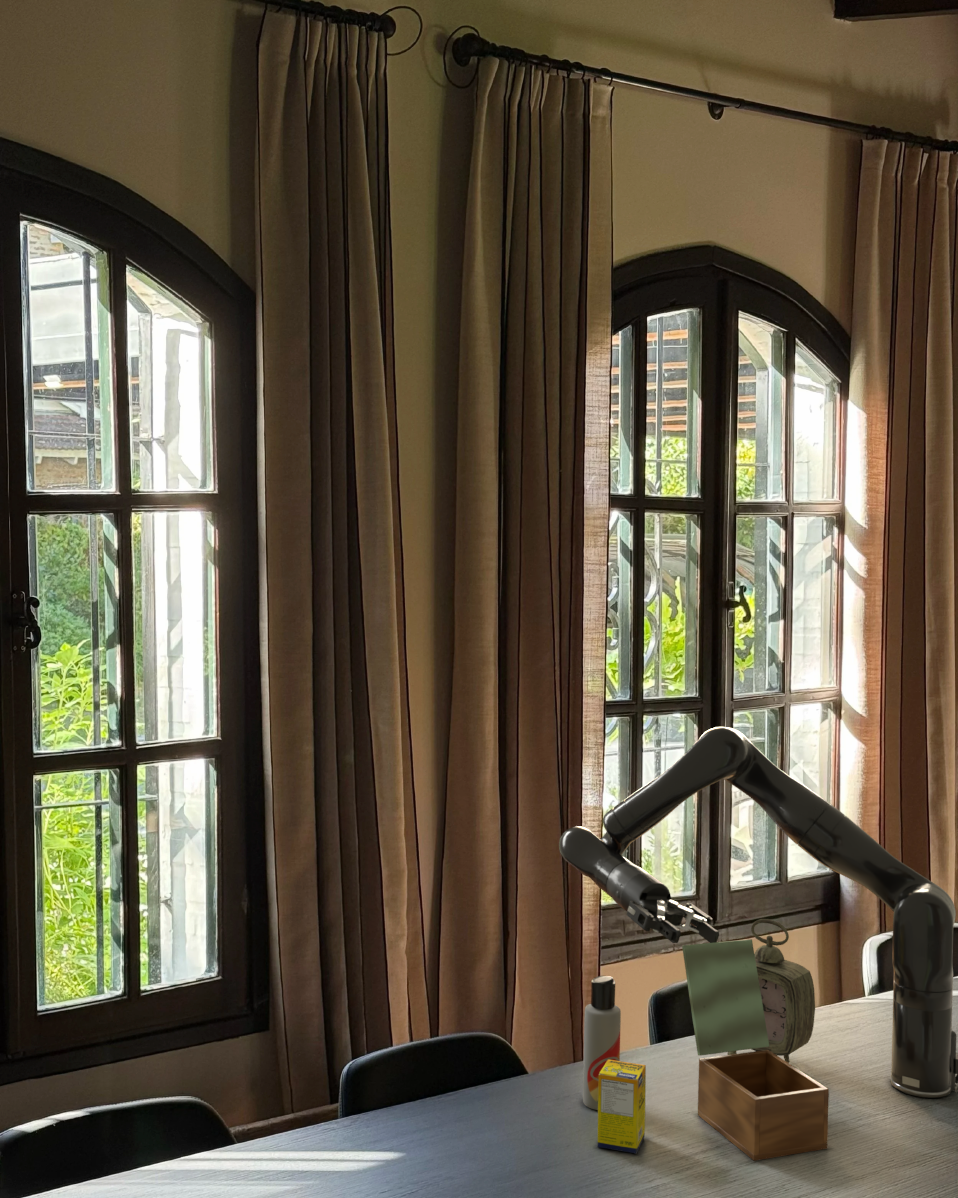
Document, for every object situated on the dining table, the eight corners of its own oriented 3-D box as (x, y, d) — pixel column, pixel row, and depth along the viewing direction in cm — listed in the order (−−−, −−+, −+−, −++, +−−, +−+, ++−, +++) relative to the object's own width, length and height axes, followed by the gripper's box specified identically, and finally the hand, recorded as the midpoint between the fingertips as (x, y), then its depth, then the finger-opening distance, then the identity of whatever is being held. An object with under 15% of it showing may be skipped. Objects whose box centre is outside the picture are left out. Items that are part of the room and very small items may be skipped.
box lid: (752, 939, 193) (749, 939, 194) (684, 945, 188) (681, 945, 189) (769, 1046, 188) (766, 1046, 188) (700, 1055, 183) (697, 1055, 184)
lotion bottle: (617, 1113, 184) (620, 985, 184) (580, 1109, 185) (583, 981, 185) (620, 1098, 189) (623, 973, 189) (584, 1094, 190) (587, 970, 190)
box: (827, 1149, 173) (829, 1089, 173) (754, 1161, 169) (755, 1100, 169) (766, 1104, 188) (768, 1049, 188) (697, 1115, 184) (698, 1058, 184)
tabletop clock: (717, 1059, 206) (720, 916, 206) (742, 1045, 213) (745, 906, 213) (794, 1083, 197) (798, 933, 197) (818, 1067, 203) (821, 922, 203)
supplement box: (645, 1137, 176) (646, 1064, 176) (636, 1155, 170) (638, 1079, 170) (605, 1130, 178) (607, 1058, 178) (596, 1148, 172) (598, 1073, 172)
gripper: (611, 870, 200) (670, 916, 186) (675, 874, 207) (736, 918, 193) (599, 911, 201) (657, 959, 187) (662, 913, 208) (723, 960, 194)
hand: (697, 938), depth 190 cm, fingers open, 8 cm apart
